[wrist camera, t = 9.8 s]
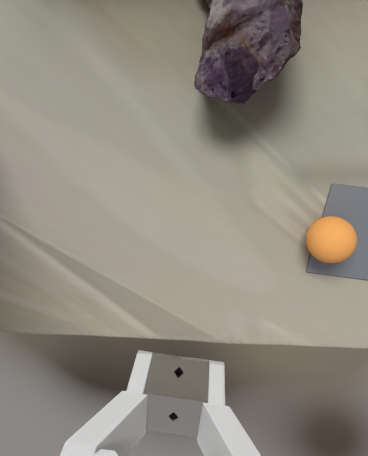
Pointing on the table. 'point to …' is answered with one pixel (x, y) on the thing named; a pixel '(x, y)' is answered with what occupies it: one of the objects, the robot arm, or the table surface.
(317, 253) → the ball
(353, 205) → the grey mark
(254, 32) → the rock
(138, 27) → the table surface
